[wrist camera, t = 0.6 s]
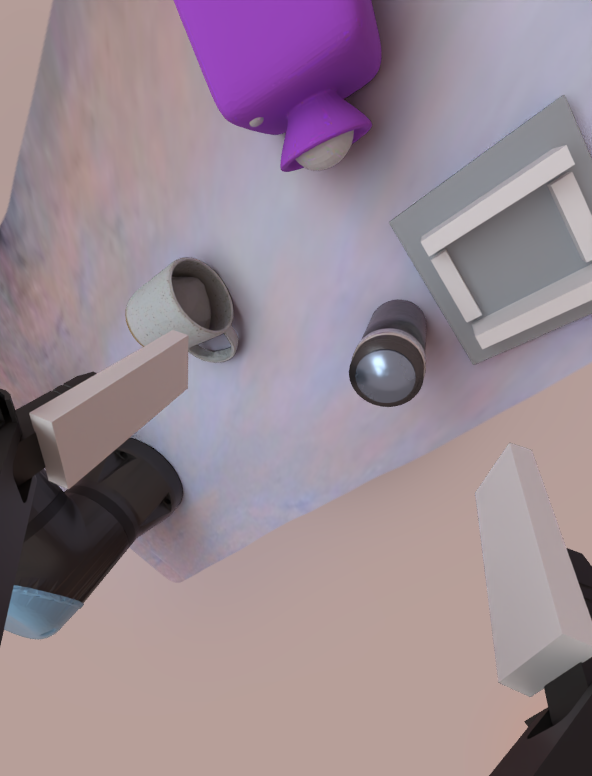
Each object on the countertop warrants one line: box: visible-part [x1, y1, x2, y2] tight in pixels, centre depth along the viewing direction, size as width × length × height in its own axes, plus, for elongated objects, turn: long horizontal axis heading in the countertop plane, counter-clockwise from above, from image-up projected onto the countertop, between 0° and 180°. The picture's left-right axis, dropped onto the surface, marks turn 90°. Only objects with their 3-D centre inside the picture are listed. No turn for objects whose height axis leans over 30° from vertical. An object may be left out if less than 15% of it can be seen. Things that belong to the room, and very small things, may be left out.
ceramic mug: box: [125, 257, 238, 363], centre depth 36 cm, size 11×8×8 cm
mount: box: [389, 95, 592, 365], centre depth 26 cm, size 12×14×4 cm
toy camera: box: [174, 0, 381, 172], centre depth 22 cm, size 11×14×10 cm
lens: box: [349, 300, 426, 407], centre depth 29 cm, size 5×5×10 cm
